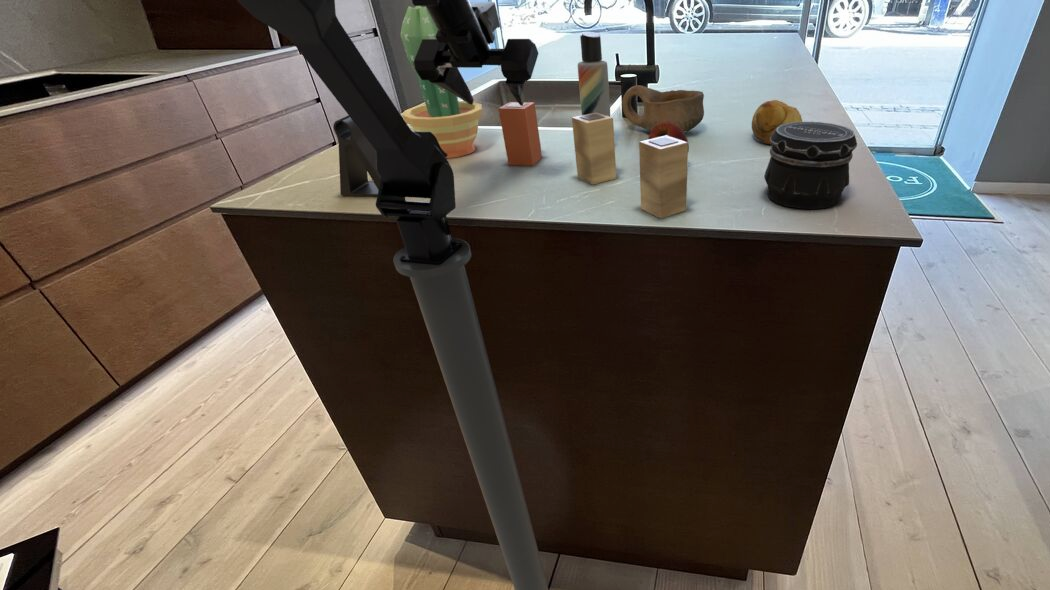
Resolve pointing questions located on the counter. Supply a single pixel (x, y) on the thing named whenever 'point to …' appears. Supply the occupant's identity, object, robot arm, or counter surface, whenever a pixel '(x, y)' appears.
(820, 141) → the container
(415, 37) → the potted cactus
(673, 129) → the apple
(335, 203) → the counter surface
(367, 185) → the phone stand
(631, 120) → the bowl
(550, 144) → the counter surface
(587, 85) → the lotion bottle
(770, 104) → the bread roll
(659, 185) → the maple block front
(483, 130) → the counter surface
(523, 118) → the terracotta block
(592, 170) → the maple block back
